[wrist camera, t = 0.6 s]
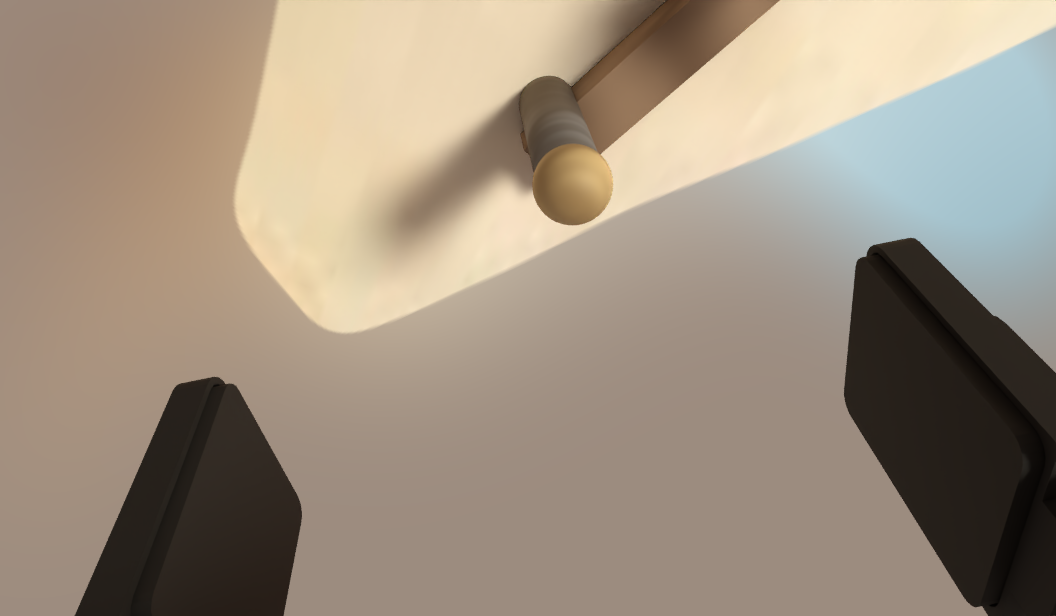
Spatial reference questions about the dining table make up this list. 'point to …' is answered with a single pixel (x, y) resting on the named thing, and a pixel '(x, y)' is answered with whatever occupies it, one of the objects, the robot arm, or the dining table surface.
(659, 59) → the peg stop rail
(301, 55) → the dining table surface
